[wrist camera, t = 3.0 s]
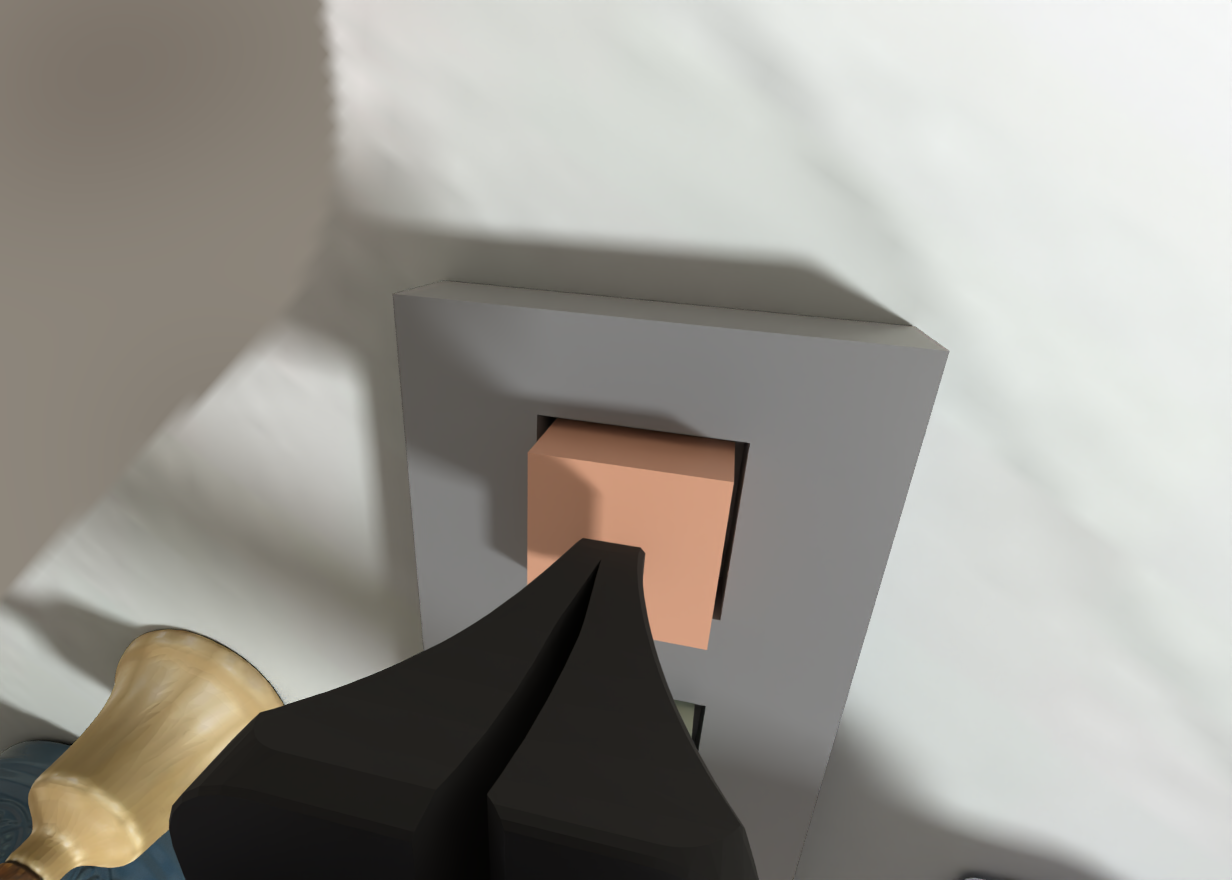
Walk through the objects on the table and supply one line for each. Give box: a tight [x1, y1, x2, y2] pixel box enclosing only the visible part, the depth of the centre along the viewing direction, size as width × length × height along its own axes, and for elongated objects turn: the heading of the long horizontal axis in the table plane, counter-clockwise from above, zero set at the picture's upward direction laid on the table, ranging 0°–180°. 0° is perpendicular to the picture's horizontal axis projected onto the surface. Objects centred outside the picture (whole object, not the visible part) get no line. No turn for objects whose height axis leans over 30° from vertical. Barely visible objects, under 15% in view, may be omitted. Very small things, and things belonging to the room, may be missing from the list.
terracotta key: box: [527, 418, 735, 650], centre depth 14 cm, size 4×4×2 cm
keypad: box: [393, 281, 949, 880], centre depth 19 cm, size 12×26×2 cm, turn 177°
